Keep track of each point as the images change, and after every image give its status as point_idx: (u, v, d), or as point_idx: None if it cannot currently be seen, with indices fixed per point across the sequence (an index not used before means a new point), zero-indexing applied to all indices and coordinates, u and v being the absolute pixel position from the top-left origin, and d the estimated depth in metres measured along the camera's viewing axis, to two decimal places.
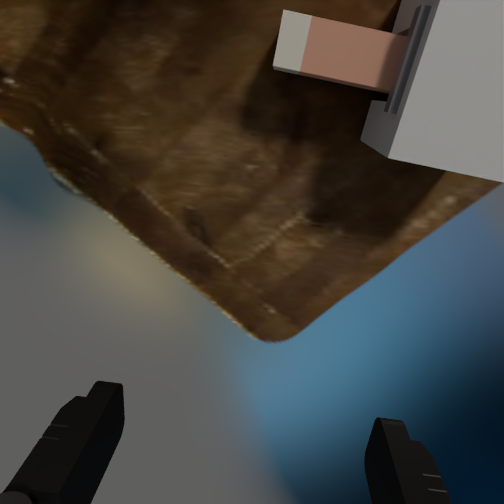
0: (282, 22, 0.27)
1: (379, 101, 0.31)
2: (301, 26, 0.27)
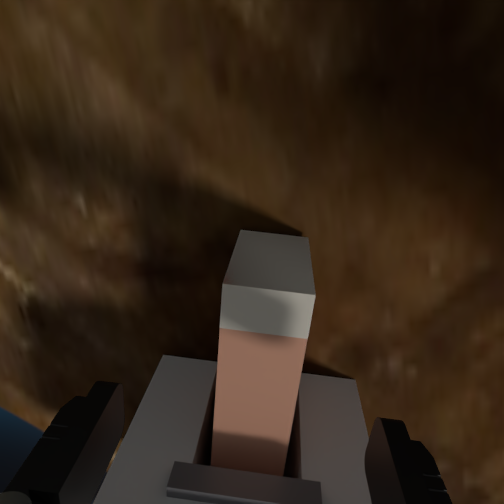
0: (295, 294, 0.14)
1: (208, 395, 0.21)
2: (290, 324, 0.15)
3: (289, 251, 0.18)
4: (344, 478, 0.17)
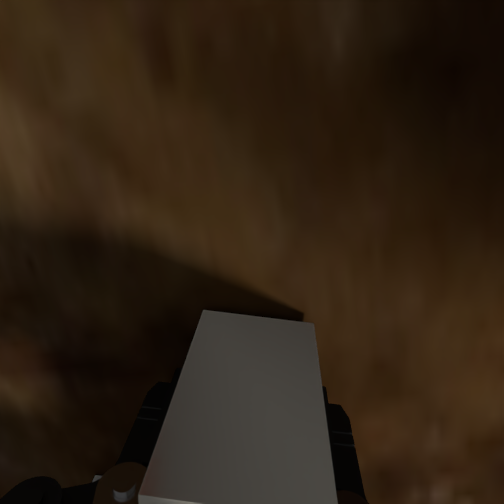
0: None
1: None
2: None
3: (283, 365, 0.10)
4: None
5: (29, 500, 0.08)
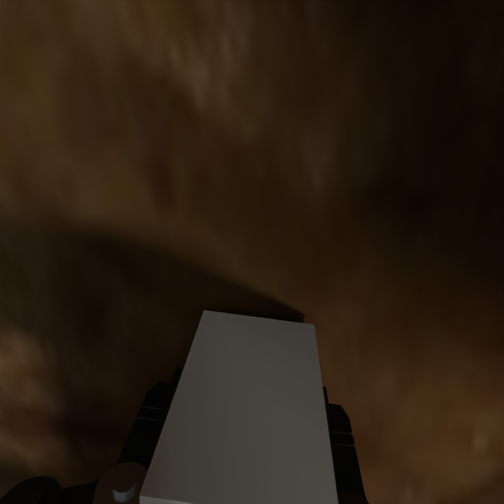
0: None
1: None
2: None
3: (284, 366, 0.10)
4: None
5: (29, 501, 0.08)
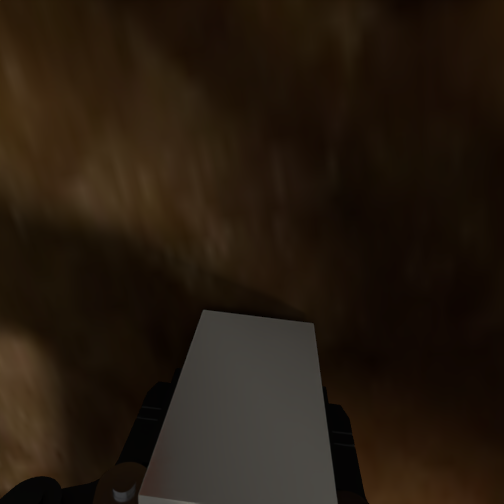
0: None
1: None
2: None
3: (283, 365, 0.10)
4: None
5: (29, 501, 0.08)
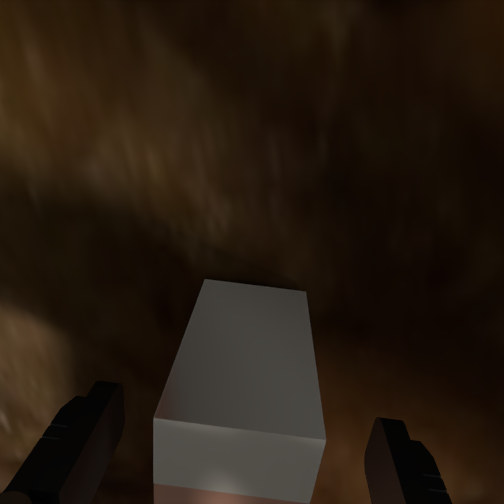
0: (288, 439, 0.08)
1: None
2: (280, 482, 0.08)
3: (278, 324, 0.11)
4: None
5: None
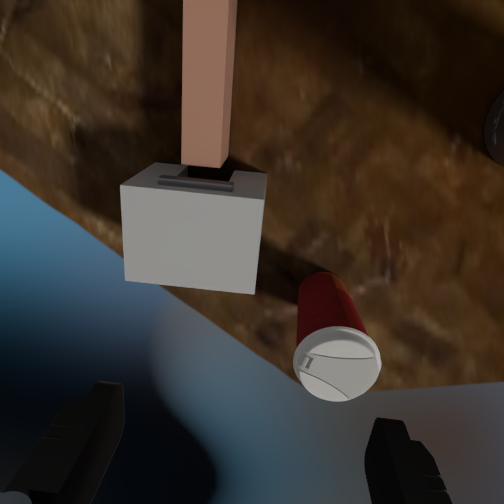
0: None
1: (181, 171, 0.38)
2: None
3: None
4: (248, 187, 0.35)
5: None
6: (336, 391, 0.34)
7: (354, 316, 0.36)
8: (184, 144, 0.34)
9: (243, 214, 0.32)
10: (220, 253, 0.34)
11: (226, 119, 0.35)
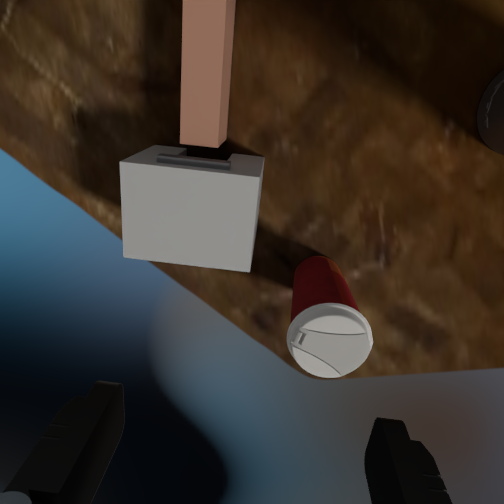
0: None
1: (180, 152, 0.39)
2: None
3: None
4: (244, 167, 0.35)
5: None
6: (328, 367, 0.35)
7: (347, 295, 0.37)
8: (183, 124, 0.35)
9: (239, 192, 0.33)
10: (216, 230, 0.34)
11: (224, 101, 0.36)
